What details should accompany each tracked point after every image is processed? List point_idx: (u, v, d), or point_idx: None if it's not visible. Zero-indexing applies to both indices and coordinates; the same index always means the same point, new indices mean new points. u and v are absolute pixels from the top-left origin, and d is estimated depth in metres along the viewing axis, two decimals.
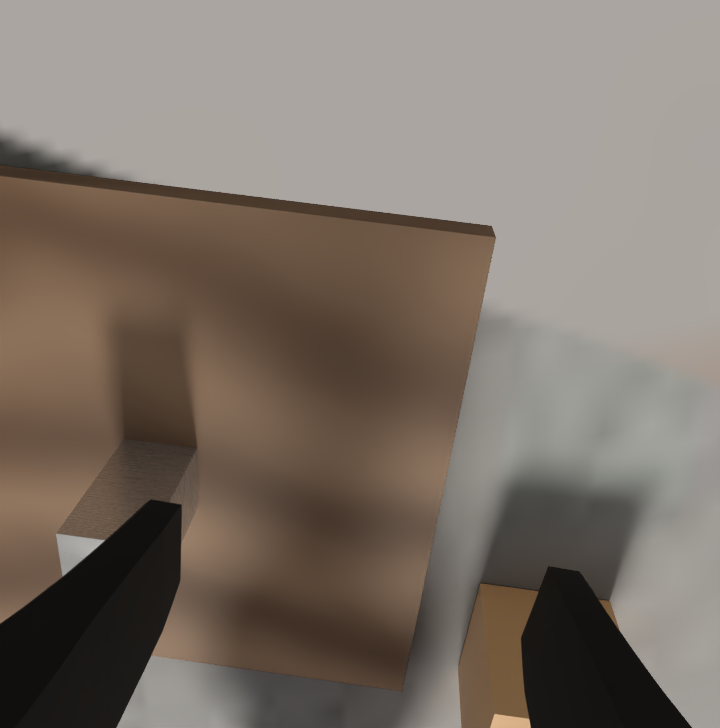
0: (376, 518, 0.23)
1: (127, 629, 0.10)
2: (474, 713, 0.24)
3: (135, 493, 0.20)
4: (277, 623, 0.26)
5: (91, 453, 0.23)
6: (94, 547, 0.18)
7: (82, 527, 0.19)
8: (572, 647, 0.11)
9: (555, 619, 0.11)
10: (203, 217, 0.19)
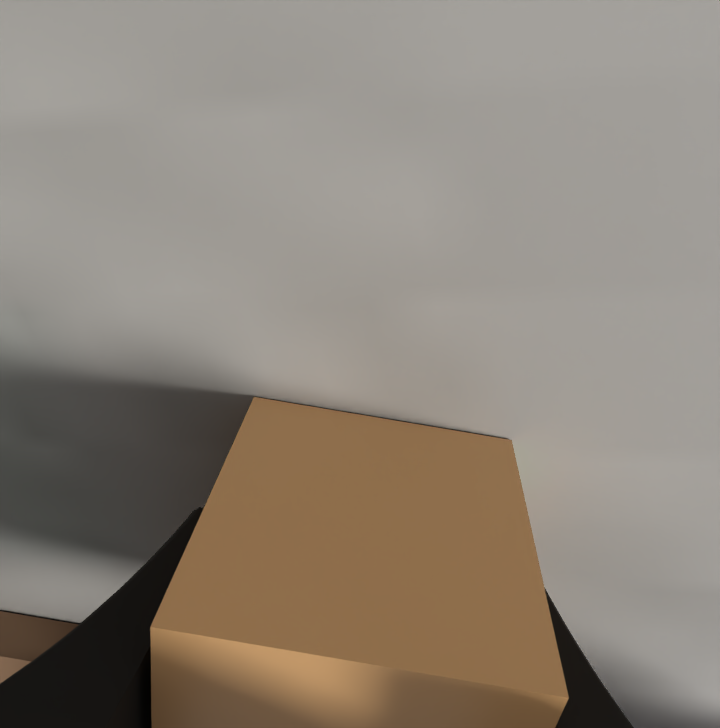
0: None
1: None
2: None
3: None
4: None
5: None
6: None
7: None
8: None
9: None
10: None
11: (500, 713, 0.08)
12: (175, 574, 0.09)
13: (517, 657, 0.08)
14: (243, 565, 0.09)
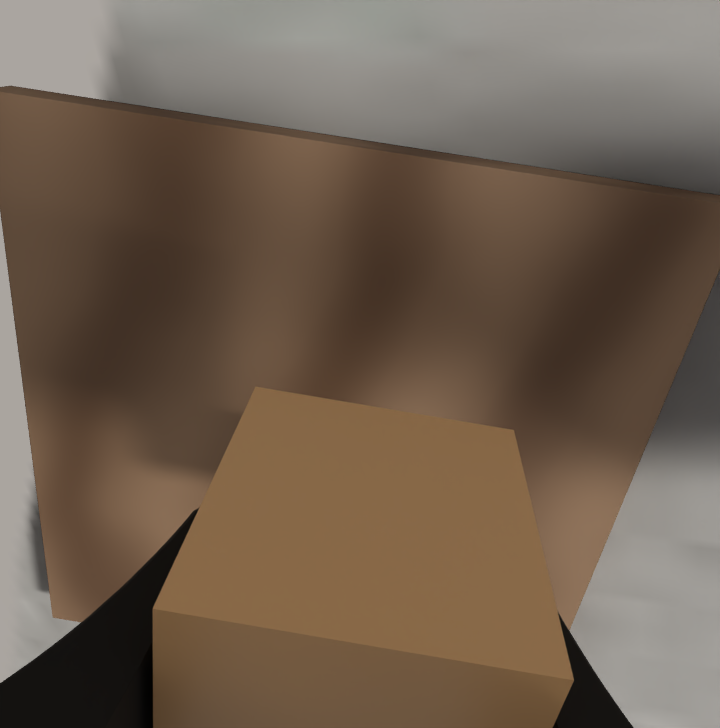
0: (377, 233, 0.18)
1: None
2: None
3: None
4: (567, 374, 0.19)
5: None
6: None
7: None
8: None
9: None
10: (35, 370, 0.21)
11: (504, 696, 0.08)
12: (177, 557, 0.09)
13: (521, 640, 0.08)
14: (245, 549, 0.09)
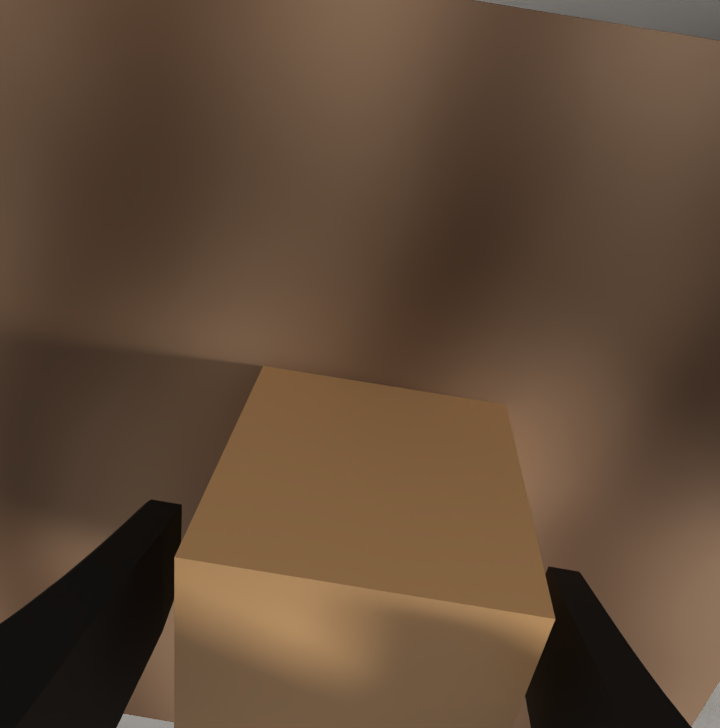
0: (474, 145, 0.11)
1: (127, 630, 0.10)
2: None
3: None
4: None
5: None
6: None
7: None
8: (572, 647, 0.11)
9: (555, 619, 0.11)
10: None
11: (493, 635, 0.09)
12: (195, 514, 0.10)
13: (508, 585, 0.09)
14: (256, 507, 0.10)
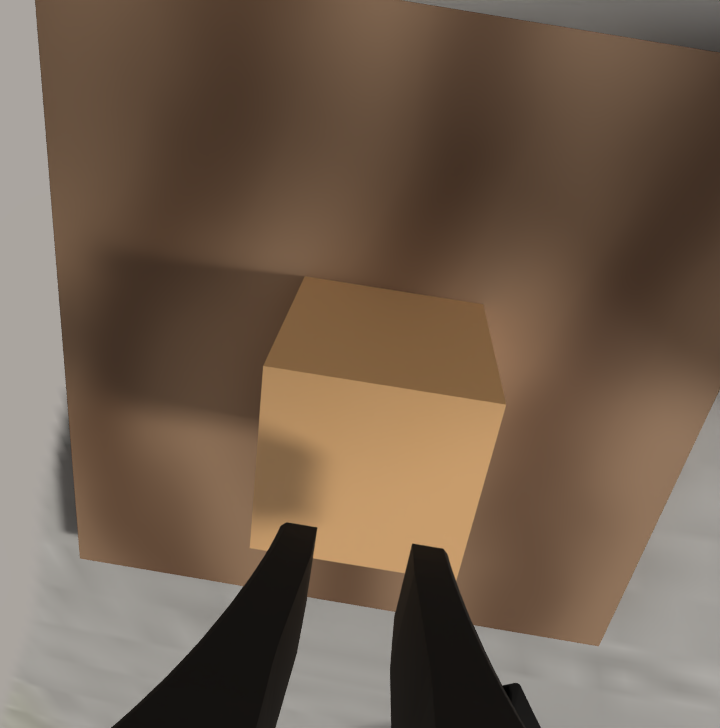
0: (457, 109, 0.16)
1: (285, 657, 0.10)
2: None
3: None
4: (655, 275, 0.18)
5: None
6: None
7: None
8: (415, 620, 0.11)
9: (409, 594, 0.11)
10: (72, 274, 0.19)
11: (467, 419, 0.14)
12: (272, 348, 0.14)
13: (477, 389, 0.14)
14: (311, 346, 0.15)
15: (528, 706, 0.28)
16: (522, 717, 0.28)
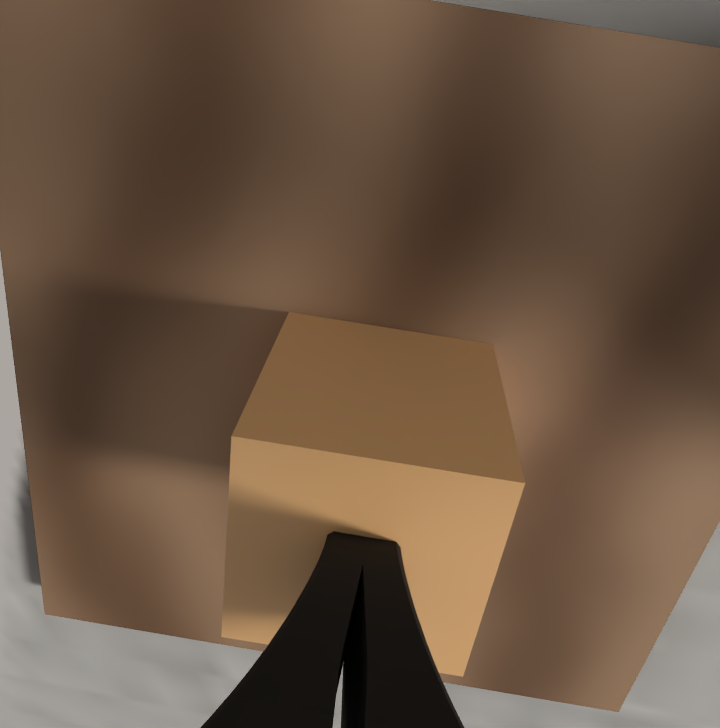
0: (465, 123, 0.14)
1: (340, 666, 0.10)
2: None
3: None
4: (691, 312, 0.15)
5: None
6: None
7: None
8: (361, 611, 0.11)
9: (359, 586, 0.11)
10: (25, 309, 0.17)
11: (477, 498, 0.12)
12: (244, 410, 0.12)
13: (490, 462, 0.12)
14: (291, 407, 0.12)
15: None
16: None
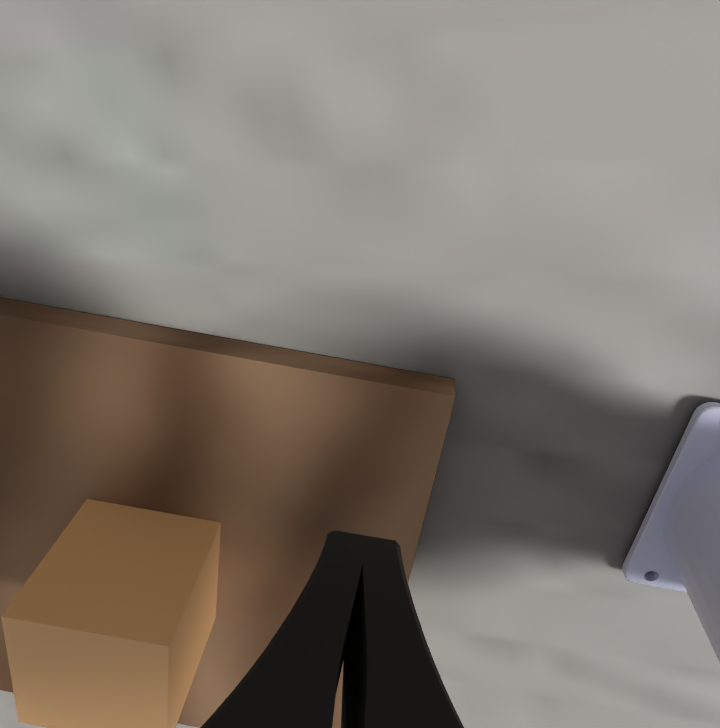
0: (176, 402, 0.22)
1: (340, 666, 0.10)
2: None
3: None
4: (340, 509, 0.24)
5: None
6: None
7: None
8: (360, 611, 0.11)
9: (358, 586, 0.11)
10: None
11: (145, 653, 0.20)
12: (17, 594, 0.20)
13: (155, 630, 0.20)
14: (49, 590, 0.21)
15: None
16: None
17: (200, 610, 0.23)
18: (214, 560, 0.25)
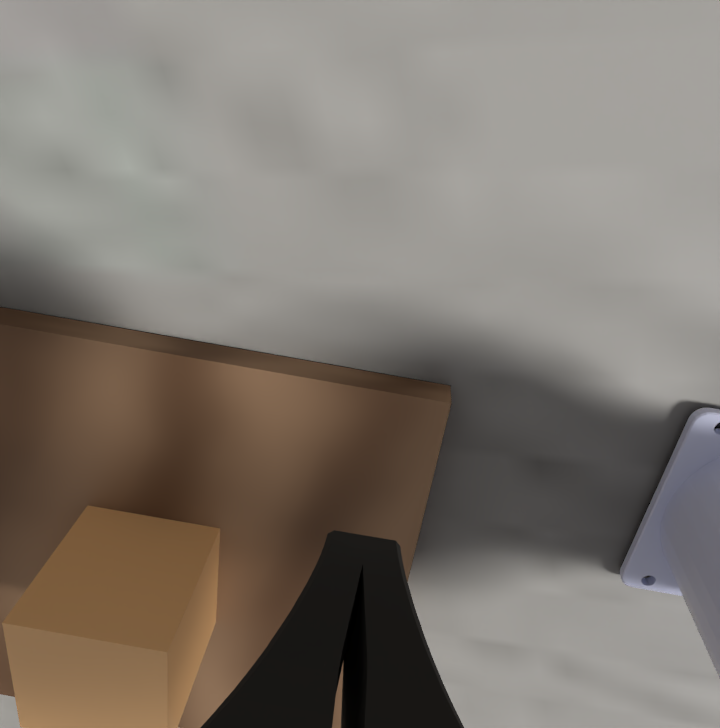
0: (174, 409, 0.22)
1: (340, 665, 0.10)
2: None
3: None
4: (338, 515, 0.24)
5: None
6: None
7: None
8: (360, 611, 0.11)
9: (359, 586, 0.11)
10: None
11: (144, 659, 0.20)
12: (18, 601, 0.21)
13: (154, 636, 0.20)
14: (49, 596, 0.21)
15: None
16: None
17: (200, 615, 0.24)
18: (213, 566, 0.25)
